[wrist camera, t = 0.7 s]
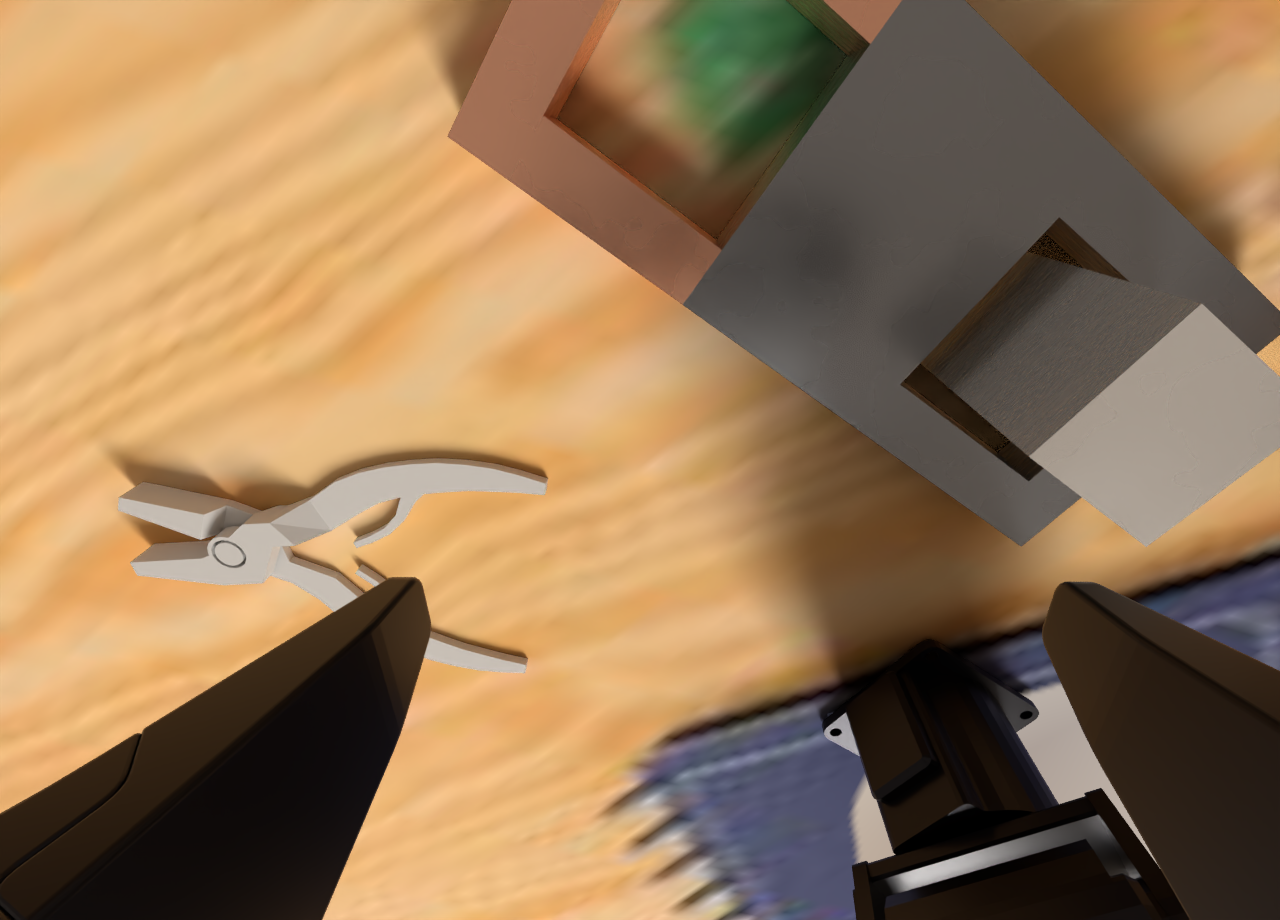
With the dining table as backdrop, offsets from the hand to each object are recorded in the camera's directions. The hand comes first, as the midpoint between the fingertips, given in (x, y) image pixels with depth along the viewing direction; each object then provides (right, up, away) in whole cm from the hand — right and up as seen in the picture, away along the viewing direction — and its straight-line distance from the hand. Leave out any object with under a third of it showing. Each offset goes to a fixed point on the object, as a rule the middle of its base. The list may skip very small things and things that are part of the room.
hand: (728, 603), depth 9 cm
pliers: (-13, -1, +16) cm, 20 cm away
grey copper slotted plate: (+5, +9, +9) cm, 14 cm away
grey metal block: (+10, +6, +10) cm, 16 cm away
